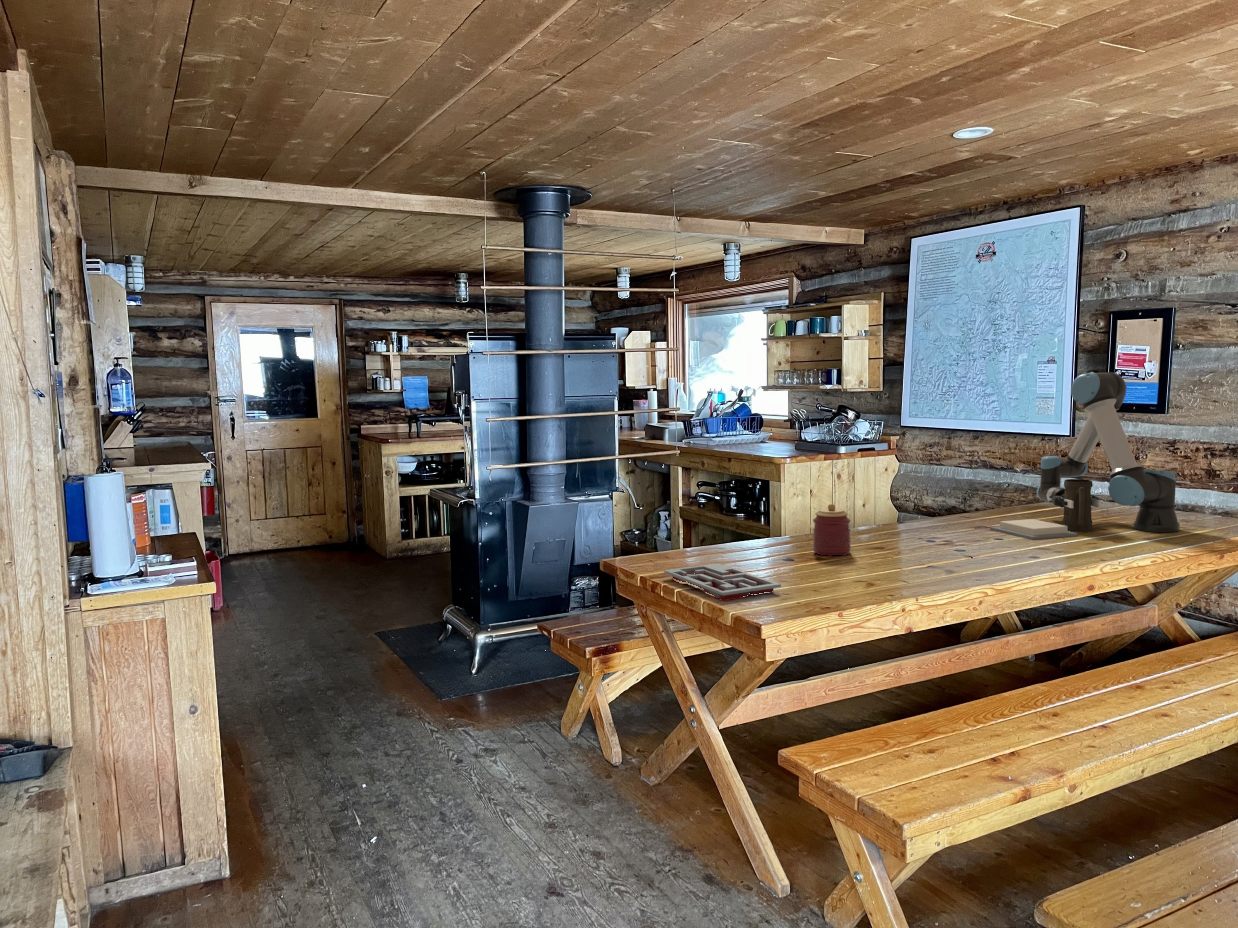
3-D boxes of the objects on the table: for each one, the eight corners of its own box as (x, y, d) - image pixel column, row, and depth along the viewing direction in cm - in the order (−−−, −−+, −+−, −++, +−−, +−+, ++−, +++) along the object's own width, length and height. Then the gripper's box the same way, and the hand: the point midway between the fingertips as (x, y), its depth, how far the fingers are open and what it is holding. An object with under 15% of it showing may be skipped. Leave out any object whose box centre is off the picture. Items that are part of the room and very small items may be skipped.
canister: (821, 548, 322) (821, 500, 320) (856, 551, 315) (856, 502, 313) (807, 554, 312) (806, 505, 310) (842, 558, 304) (842, 507, 302)
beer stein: (1057, 527, 351) (1059, 477, 348) (1086, 527, 350) (1088, 477, 346) (1071, 536, 336) (1072, 485, 333) (1101, 536, 334) (1103, 484, 331)
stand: (1033, 526, 356) (1033, 517, 355) (1077, 535, 332) (1078, 526, 332) (990, 529, 351) (990, 520, 350) (1032, 539, 327) (1032, 530, 327)
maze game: (781, 594, 256) (780, 584, 256) (723, 603, 248) (722, 592, 248) (717, 572, 288) (717, 563, 288) (664, 580, 280) (664, 570, 279)
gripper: (1088, 505, 358) (1115, 513, 336) (1032, 506, 360) (1056, 514, 338) (1088, 487, 358) (1115, 494, 335) (1032, 488, 359) (1056, 495, 337)
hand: (1085, 504), depth 337 cm, fingers closed on beer stein, 9 cm apart
